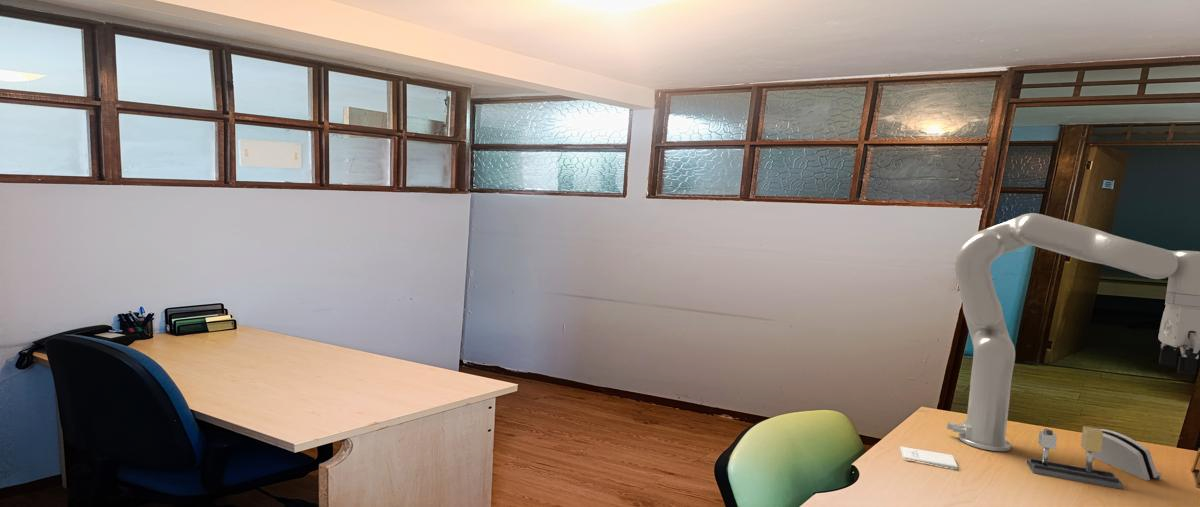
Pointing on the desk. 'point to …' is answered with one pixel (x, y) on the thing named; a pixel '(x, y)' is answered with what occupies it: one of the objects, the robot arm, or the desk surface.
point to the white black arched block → (1126, 455)
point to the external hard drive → (929, 457)
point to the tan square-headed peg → (1091, 444)
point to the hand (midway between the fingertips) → (1176, 369)
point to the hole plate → (1068, 466)
